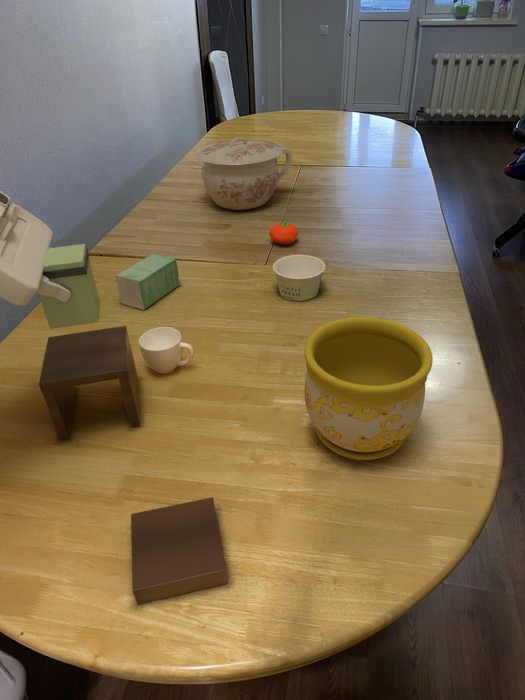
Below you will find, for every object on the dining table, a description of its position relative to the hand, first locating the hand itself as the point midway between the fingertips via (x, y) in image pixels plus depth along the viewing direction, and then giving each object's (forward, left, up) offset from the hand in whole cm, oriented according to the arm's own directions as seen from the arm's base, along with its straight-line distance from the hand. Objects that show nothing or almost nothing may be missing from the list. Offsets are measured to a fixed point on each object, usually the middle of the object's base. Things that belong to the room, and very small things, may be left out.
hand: (71, 284), depth 76 cm
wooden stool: (0, +1, -25) cm, 25 cm away
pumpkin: (+75, +8, -25) cm, 79 cm away
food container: (+53, -9, -25) cm, 59 cm away
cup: (+15, -2, -25) cm, 29 cm away
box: (+35, +21, -25) cm, 48 cm away
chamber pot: (+96, +36, -25) cm, 105 cm away
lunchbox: (0, 0, -5) cm, 5 cm away
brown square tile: (-15, -29, -25) cm, 41 cm away
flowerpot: (+17, -40, -25) cm, 50 cm away
